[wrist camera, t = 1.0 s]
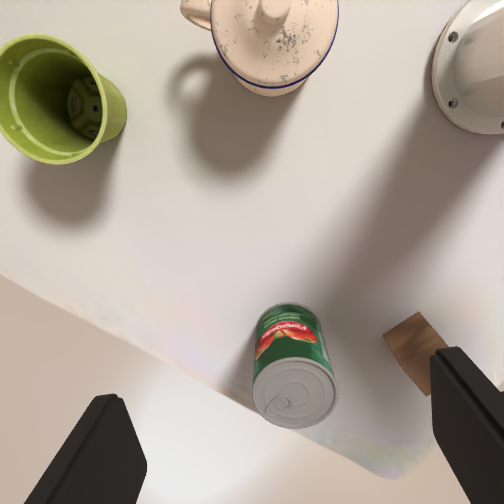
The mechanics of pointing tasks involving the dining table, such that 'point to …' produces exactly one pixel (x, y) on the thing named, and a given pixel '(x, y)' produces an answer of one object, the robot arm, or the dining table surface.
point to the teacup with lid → (268, 38)
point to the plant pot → (55, 100)
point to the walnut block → (415, 348)
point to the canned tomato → (292, 368)
